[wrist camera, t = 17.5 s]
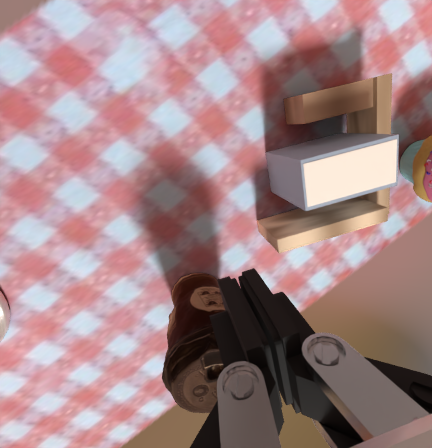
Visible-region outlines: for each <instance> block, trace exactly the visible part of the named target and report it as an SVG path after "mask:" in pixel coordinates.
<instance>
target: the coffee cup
mask: <svg viewBox="0 0 432 448" xmlns="http://www.w3.org/2000/svg"><path fill="white" fill-rule="evenodd" d="M172 301H173V304H174V309H173V311H172V313H171V314H170V315H169V325H168V332H167V339H168V350H167V353H166V356H165V362H164V368H163V374H162V380H163V382H164V384H165V386H166V388H167V389H168V390H169V391H170V393H171V394H172V396H173V398H174V400H175V402H176V403H177V404H178V405H179V406H180V407H182V408H184V409H186V410H188V411H190V412H199V413H210V412H211V411H212V409H213V407H214V405H215V404H216V402H217V400H218V397H217V380H218V378H219V375H220V373H221V372H222V371H223V370H224V366H223V363H222V359H221V355H220V352H219V348H218V345H217V341H216V338H215V334H214V331H213V327H212V324H211V320H210V316H211V315H214V314H217V313H220V312H223V311H225V308H224V304H223V301H222V297H221V293H220V290H219V286H218V282H217V279H216V278H215V277H213V276H211V275H209V274H204V273H192V274H190V275H187V276H183V277H181V278H180V279H179V281H178V282H177V283H176V284H175V285H174V289H173V290H172Z"/></svg>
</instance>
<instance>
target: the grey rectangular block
mask: <svg viewBox="0 0 432 448" xmlns="http://www.w3.org/2000/svg"><path fill="white" fill-rule="evenodd" d="M398 148H399V134H366V133H339V134H335V135H331V136H327V137H323V138H319V139H315V140H311V141H307V142H304V143H300V144H296V145H292V146H288V147H284V148H280V149H276V150H272V151H269V152H265V153H266V160H267V167H268V173H269V180H270V187H271V192H273V193H274V194H276V195H278V196H280V197H281V198H283V199H285V200H287V201H288V202H290V203H292V204H294V205H295V206H297V207H299V208H301V209H302V210H304V211H309V210H312V209H316V208H319V207H323V206H326V205H330V204H333V203H337V202H340V201H344V200H347V199H351V198H354V197H358V196H361V195H365V194H368V193H372V192H375V191H379V190H382V189H386V188H389V187H393V186H396V185H397V180H398Z"/></svg>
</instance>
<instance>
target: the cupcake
mask: <svg viewBox="0 0 432 448" xmlns="http://www.w3.org/2000/svg"><path fill="white" fill-rule="evenodd" d="M400 172H401V174H402V176H403V177H404V178H405V179H407V180H409V181H410V182H412V183H413V184H414V186H413V189H414V191H415V193H416V194H417V195H418V196H419V197H420V198H422V199H423V200H425V201H428V202H432V135H431V136H429V137H428V138H426V139H424V140H420V141H417V142H414V143H413V144H411V145H410V146H409V147H408V148H407V149H406V150H405V151H404V153H403V155H402V157H401V160H400Z"/></svg>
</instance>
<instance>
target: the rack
mask: <svg viewBox="0 0 432 448" xmlns="http://www.w3.org/2000/svg"><path fill="white" fill-rule="evenodd" d="M391 96H392V73H391V74H387V75H383V76H378V77H374V78H370V79H366V80H362V81H357V82H353V83H349V84H345V85H341V86H336V87H332V88H328V89H324V90H320V91H315V92H311V93H307V94H303V95H299V96H294V97H290V98H286V99H284V107H285V116H286V124H306V123H310V122H314V121H318V120H322V119H326V118H330V117H334V116H338V115H342V114H346V113H347V133H366V134H391ZM389 194H390V187H389V188H386V189H382V190H379V191H375V192H372V193H368V194H365V195H361V196H358V197H354V198H351V199H347V200H344V201H340V202H337V203H333V204H330V205H326V206H323V207H319V208H316V209H312V210H309V211H304V210H302V209H301V208H299V209H295V210H292V211H288V212H285V213H281V214H278V215H274V216H271V217H267V218H264V219H260V220H257V224H258V230H259V232H260V234H261V235H262V236H263V237H264V238H265V239H266V240H267V241H268V242H269V243H270V244H271V245H272V246H273V247H274V248H275V249H276V250H277V252H278V253H282V252H285V251H289V250H292V249H295V248H299V247H302V246H305V245H309V244H312V243H315V242H319V241H322V240H325V239H329V238H332V237H335V236H339V235H342V234H346V233H349V232H352V231H356V230H359V229H362V228H366V227H369V226H372V225H376V224H379V223H382V222H386V221H387V220H388V214H389Z"/></svg>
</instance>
